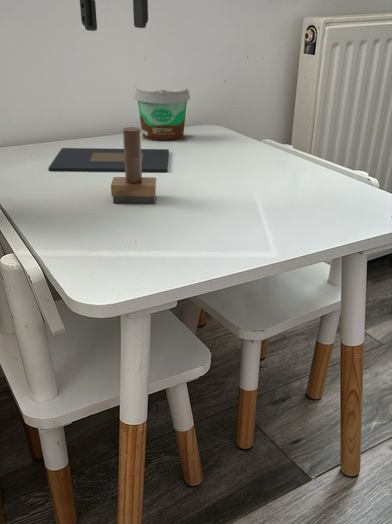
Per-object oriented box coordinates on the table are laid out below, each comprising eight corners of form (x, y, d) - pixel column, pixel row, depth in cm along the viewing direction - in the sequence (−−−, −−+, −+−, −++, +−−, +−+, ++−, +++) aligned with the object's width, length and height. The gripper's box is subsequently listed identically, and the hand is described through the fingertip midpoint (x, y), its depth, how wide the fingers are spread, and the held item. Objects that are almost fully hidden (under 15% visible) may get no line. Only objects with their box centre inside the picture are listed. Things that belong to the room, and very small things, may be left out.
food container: (140, 143, 121) (138, 93, 115) (135, 136, 126) (133, 88, 120) (195, 141, 123) (196, 92, 118) (189, 134, 128) (189, 87, 123)
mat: (48, 171, 103) (48, 167, 103) (62, 150, 115) (61, 147, 115) (167, 172, 104) (167, 168, 104) (168, 152, 116) (168, 149, 115)
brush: (111, 203, 89) (106, 132, 83) (114, 194, 93) (110, 125, 87) (155, 204, 90) (153, 132, 83) (156, 195, 93) (154, 126, 87)
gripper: (136, -107, 79) (140, 25, 88) (44, -118, 71) (60, 29, 80) (169, -112, 74) (170, 29, 83) (74, -123, 66) (87, 33, 75)
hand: (116, 29), depth 82 cm, fingers open, 8 cm apart
